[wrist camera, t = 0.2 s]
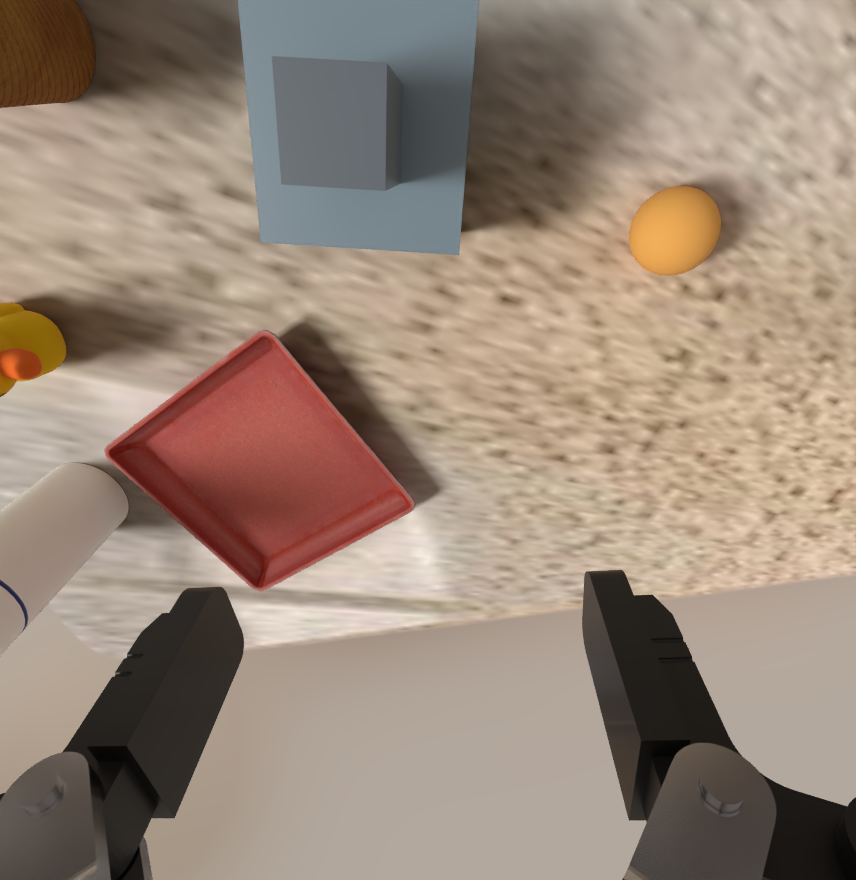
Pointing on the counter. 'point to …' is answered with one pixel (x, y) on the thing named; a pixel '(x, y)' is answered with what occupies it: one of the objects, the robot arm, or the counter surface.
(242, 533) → the plant saucer
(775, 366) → the counter surface
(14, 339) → the duckling
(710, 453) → the counter surface
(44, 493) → the cylindrical container
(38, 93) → the disposable coffee cup
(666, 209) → the ball
